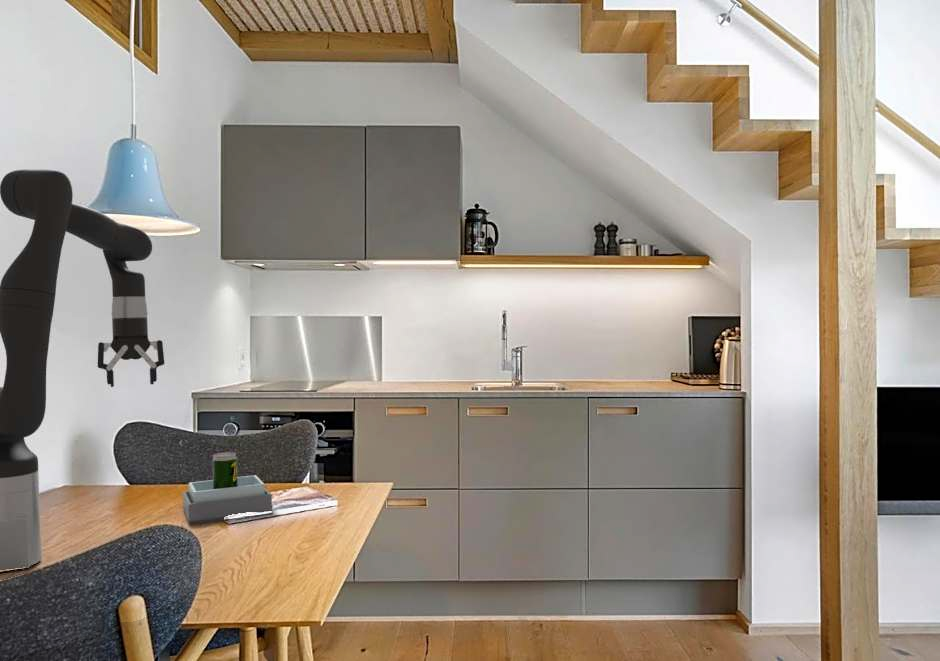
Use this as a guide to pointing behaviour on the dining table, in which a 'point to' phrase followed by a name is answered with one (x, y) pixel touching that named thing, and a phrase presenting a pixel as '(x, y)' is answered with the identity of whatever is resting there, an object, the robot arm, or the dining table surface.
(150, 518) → the dining table surface
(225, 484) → the beer can
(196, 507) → the bottom crate
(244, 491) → the top crate
